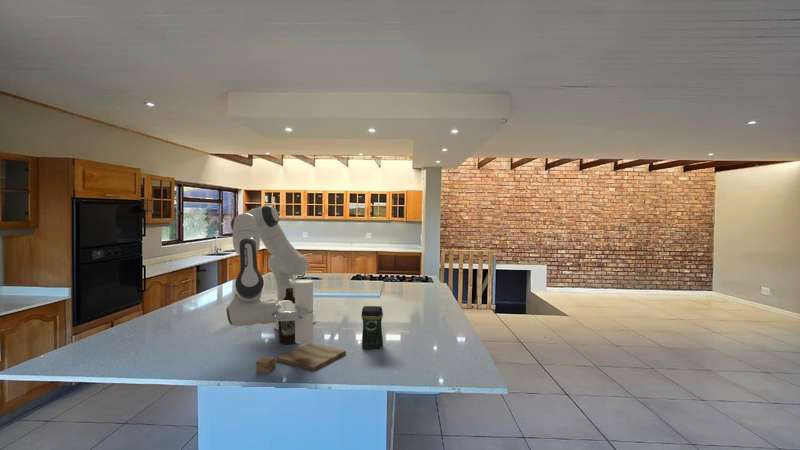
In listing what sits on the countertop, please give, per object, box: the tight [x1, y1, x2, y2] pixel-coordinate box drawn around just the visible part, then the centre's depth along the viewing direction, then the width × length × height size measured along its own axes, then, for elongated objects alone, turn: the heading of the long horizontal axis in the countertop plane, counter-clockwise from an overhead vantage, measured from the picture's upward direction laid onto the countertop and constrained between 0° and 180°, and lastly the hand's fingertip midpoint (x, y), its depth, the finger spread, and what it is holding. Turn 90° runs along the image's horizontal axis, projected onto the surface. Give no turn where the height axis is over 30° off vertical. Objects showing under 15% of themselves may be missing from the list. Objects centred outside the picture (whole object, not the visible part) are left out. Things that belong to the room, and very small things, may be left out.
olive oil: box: [278, 288, 296, 345], centre depth 179 cm, size 11×11×25 cm
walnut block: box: [255, 356, 277, 374], centre depth 147 cm, size 5×5×4 cm
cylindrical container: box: [294, 279, 314, 345], centre depth 157 cm, size 7×7×25 cm
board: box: [276, 342, 347, 372], centre depth 159 cm, size 20×20×2 cm
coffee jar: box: [360, 305, 384, 350], centre depth 172 cm, size 10×8×19 cm
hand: (306, 308), depth 158 cm, fingers closed on cylindrical container, 7 cm apart
